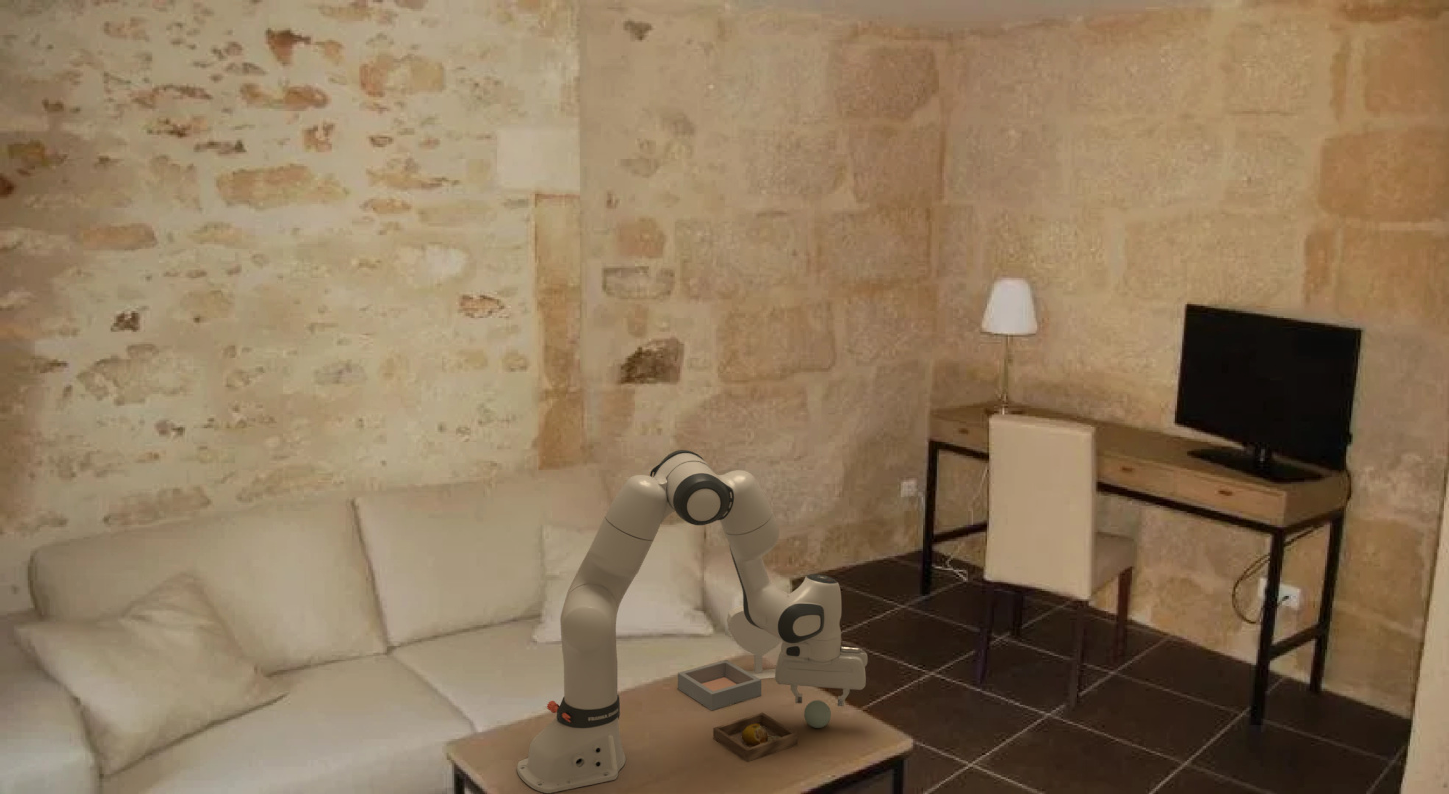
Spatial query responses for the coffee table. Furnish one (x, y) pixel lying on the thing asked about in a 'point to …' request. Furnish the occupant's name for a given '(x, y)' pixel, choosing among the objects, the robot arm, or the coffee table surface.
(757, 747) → the fruit tray
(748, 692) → the grey square tray
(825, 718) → the ball
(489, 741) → the coffee table surface
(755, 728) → the fruit
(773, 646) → the heart sculpture
